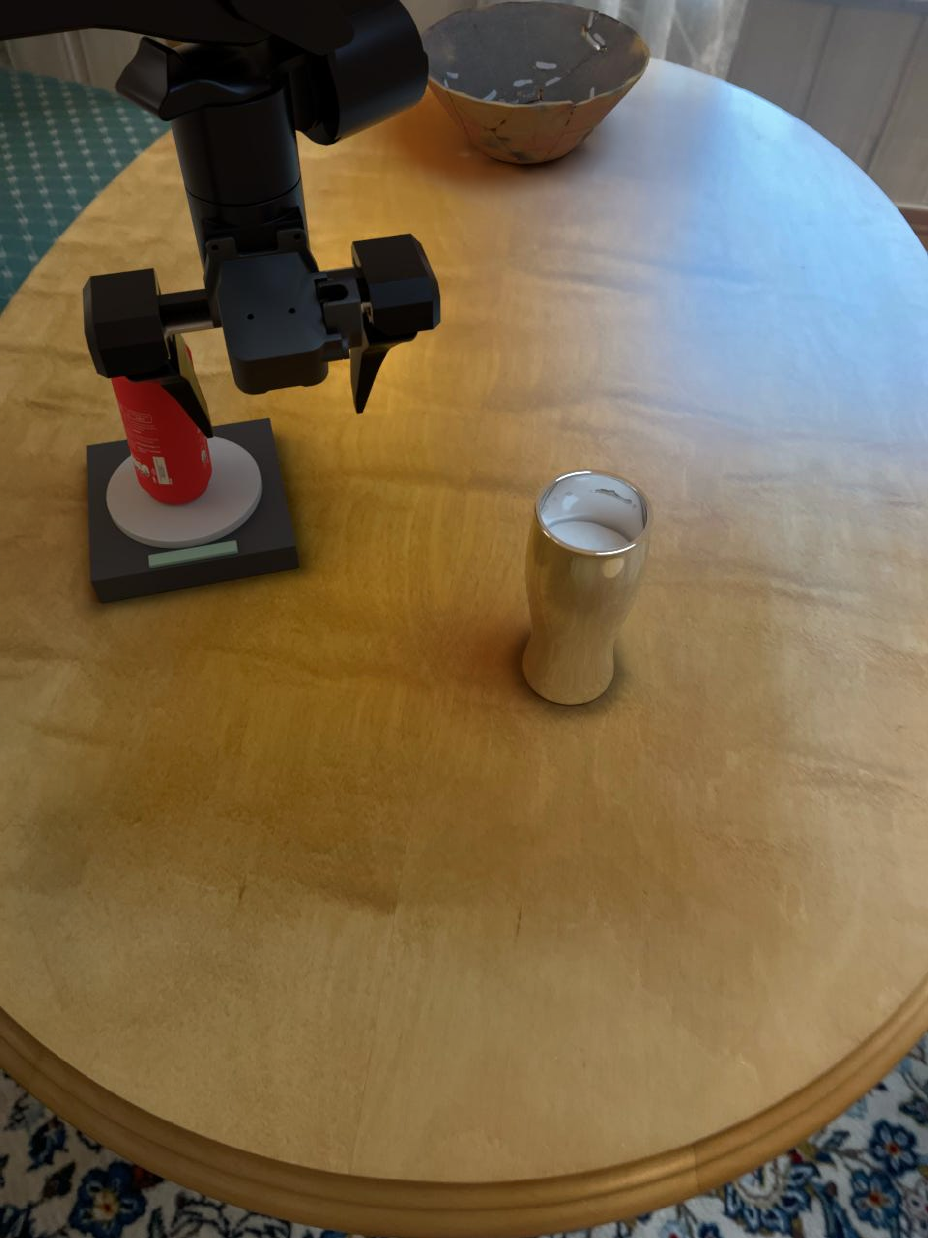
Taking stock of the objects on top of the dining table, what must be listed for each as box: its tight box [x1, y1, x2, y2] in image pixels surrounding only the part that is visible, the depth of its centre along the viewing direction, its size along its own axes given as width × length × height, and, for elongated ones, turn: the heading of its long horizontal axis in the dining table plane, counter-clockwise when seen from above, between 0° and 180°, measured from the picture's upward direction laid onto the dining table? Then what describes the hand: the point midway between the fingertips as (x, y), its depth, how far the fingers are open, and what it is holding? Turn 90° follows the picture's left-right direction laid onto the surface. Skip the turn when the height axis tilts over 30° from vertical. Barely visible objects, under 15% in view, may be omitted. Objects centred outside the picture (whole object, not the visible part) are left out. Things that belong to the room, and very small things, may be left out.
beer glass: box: [521, 468, 655, 706], centre depth 59 cm, size 7×7×15 cm
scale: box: [85, 417, 300, 604], centre depth 72 cm, size 14×14×3 cm
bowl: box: [419, 0, 651, 165], centre depth 105 cm, size 25×25×10 cm
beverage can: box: [110, 334, 212, 506], centre depth 66 cm, size 5×5×12 cm
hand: (285, 421), depth 60 cm, fingers open, 9 cm apart
